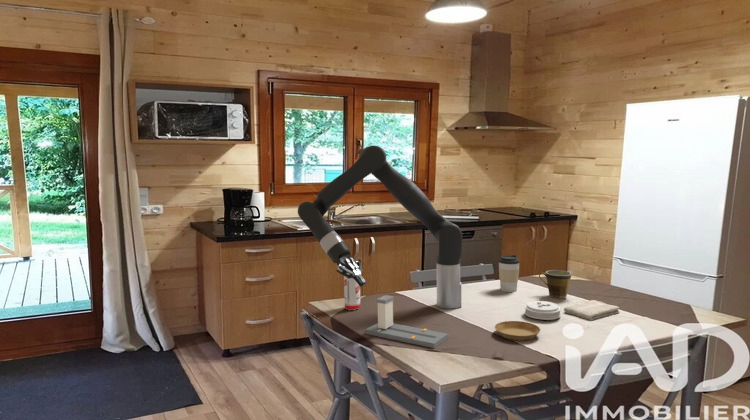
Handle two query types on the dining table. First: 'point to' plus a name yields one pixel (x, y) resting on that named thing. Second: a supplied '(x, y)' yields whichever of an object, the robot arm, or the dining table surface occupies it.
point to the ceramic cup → (557, 283)
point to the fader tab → (385, 311)
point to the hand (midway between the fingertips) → (363, 284)
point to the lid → (542, 310)
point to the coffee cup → (508, 273)
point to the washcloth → (591, 309)
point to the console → (409, 335)
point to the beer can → (351, 294)
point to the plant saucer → (517, 330)
